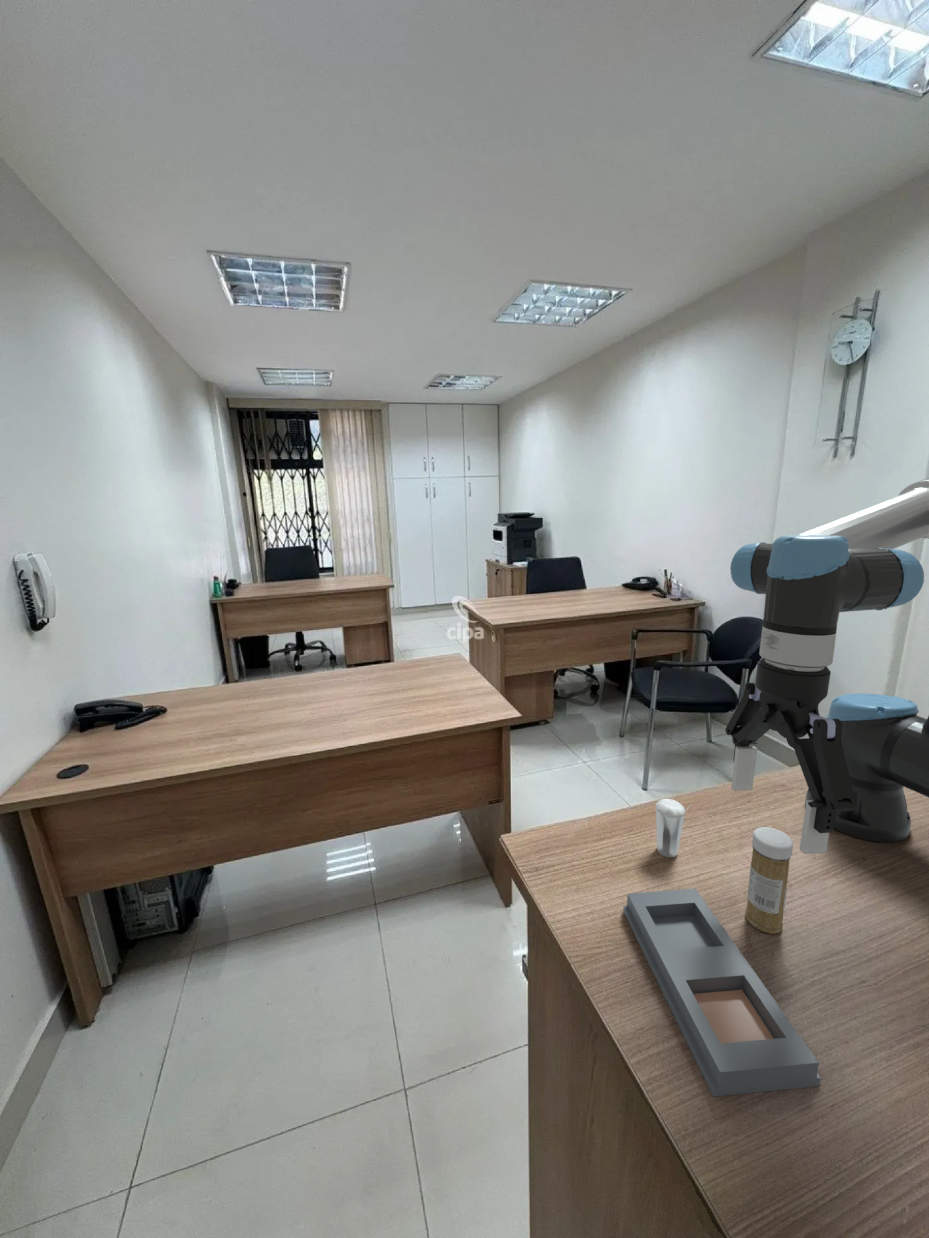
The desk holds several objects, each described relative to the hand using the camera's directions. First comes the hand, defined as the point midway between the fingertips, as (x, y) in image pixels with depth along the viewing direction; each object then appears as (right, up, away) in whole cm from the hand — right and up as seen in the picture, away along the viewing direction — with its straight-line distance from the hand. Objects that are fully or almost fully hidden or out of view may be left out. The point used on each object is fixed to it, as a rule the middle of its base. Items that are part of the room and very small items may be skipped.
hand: (773, 817), depth 65 cm
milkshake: (-6, -13, +18) cm, 23 cm away
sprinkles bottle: (+1, -16, +4) cm, 17 cm away
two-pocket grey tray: (-12, -18, -5) cm, 22 cm away
